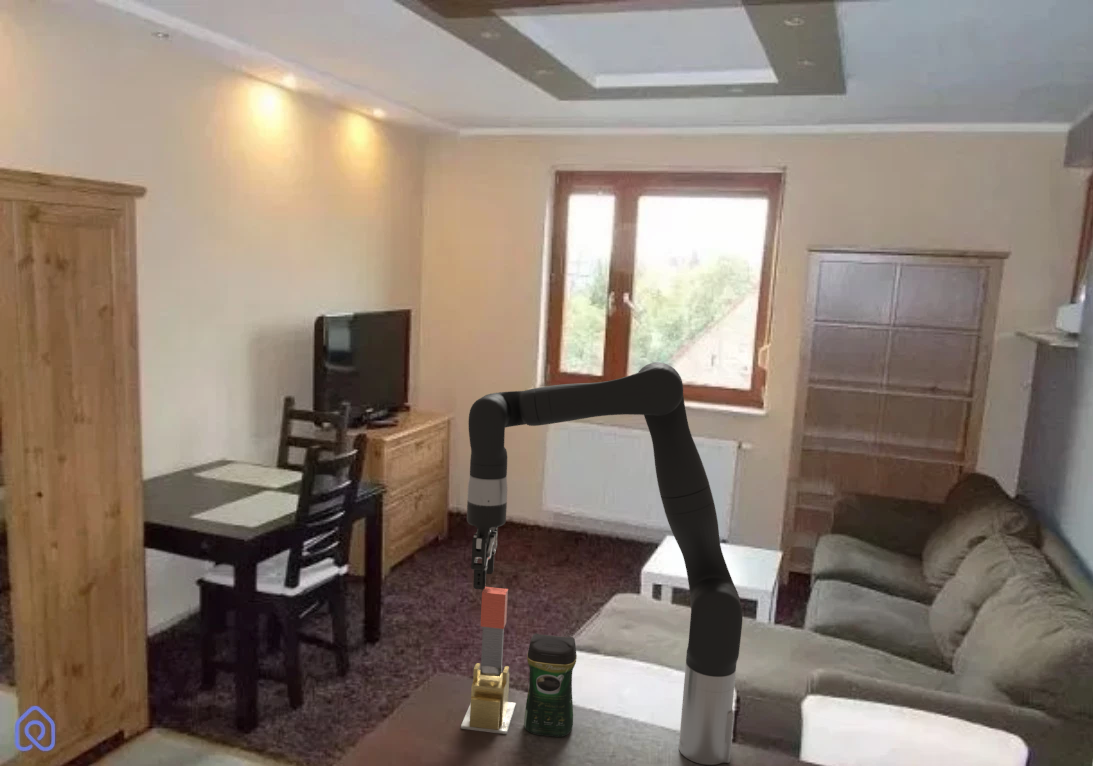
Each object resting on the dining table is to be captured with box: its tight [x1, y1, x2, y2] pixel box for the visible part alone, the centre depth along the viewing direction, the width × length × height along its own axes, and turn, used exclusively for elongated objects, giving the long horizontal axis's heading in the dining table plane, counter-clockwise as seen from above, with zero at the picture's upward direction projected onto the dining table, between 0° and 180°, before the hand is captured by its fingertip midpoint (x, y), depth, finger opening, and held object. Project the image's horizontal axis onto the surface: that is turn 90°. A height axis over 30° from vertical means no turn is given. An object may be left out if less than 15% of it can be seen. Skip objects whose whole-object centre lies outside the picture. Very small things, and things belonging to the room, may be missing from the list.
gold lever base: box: [460, 662, 517, 735], centre depth 163 cm, size 9×11×10 cm
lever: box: [480, 586, 509, 677], centre depth 161 cm, size 5×3×18 cm, turn 83°
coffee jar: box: [523, 633, 578, 738], centre depth 159 cm, size 10×8×19 cm
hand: (483, 580), depth 158 cm, fingers open, 8 cm apart
